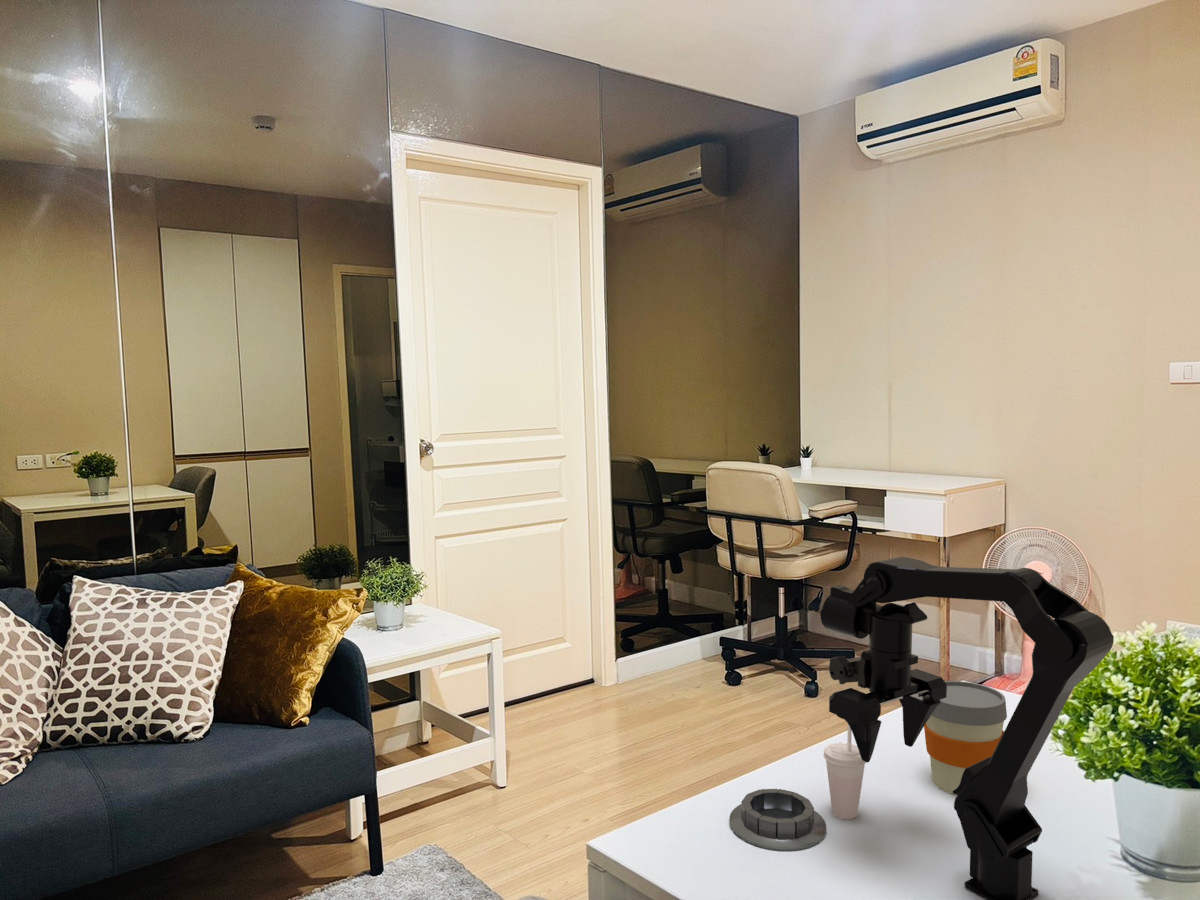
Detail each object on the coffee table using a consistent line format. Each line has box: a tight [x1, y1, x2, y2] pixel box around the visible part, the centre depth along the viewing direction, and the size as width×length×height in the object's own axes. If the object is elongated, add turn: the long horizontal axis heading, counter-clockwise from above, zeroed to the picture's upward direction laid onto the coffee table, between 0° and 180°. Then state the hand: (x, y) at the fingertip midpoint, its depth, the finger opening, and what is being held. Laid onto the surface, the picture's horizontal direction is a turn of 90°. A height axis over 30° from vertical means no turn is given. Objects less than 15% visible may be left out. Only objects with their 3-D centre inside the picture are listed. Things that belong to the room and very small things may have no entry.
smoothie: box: [823, 723, 867, 820], centre depth 132 cm, size 6×6×14 cm
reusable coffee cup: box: [923, 680, 1008, 796], centre depth 141 cm, size 12×13×15 cm
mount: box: [729, 788, 827, 852], centre depth 129 cm, size 14×14×3 cm
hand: (887, 753), depth 125 cm, fingers open, 9 cm apart
